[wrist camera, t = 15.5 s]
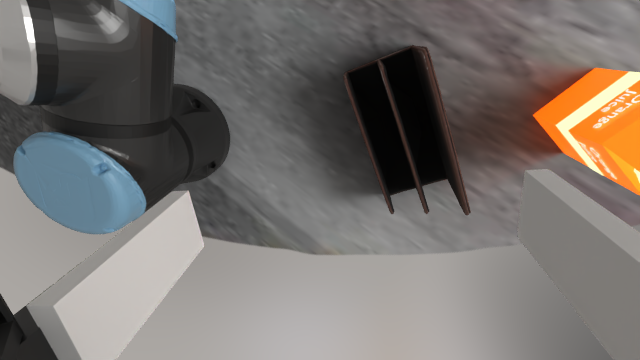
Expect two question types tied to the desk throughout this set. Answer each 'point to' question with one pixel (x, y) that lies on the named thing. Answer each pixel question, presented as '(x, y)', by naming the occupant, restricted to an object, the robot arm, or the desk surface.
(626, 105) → the orange juice
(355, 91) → the letter holder
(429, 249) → the desk surface
